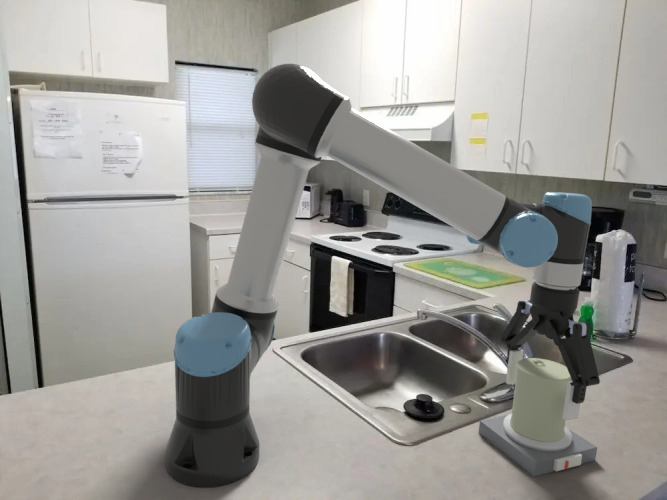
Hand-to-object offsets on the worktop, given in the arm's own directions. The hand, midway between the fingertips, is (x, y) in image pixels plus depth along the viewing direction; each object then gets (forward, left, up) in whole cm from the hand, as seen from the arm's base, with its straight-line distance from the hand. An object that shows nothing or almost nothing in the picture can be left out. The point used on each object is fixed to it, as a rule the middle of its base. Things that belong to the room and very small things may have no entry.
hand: (539, 399), depth 91 cm
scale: (0, 0, -9) cm, 9 cm away
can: (0, 0, -6) cm, 6 cm away
